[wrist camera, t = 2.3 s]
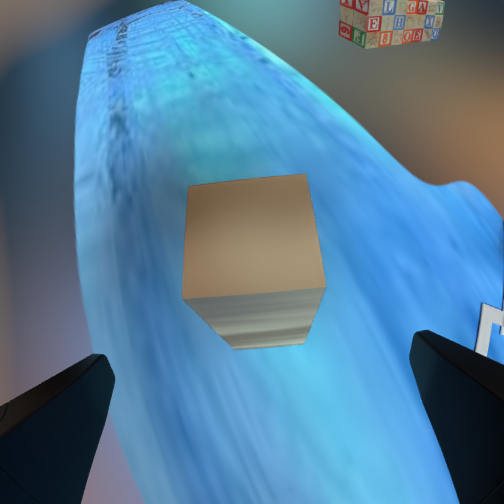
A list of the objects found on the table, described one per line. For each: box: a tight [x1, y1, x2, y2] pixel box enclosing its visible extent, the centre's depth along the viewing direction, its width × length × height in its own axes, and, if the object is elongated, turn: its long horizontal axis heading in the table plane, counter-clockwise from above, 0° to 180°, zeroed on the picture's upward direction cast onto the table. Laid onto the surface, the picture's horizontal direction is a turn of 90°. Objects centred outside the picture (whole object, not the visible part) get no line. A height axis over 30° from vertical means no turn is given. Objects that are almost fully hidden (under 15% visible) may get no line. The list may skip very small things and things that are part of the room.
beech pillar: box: [182, 174, 326, 350], centre depth 15 cm, size 4×4×11 cm
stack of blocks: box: [339, 0, 445, 49], centre depth 33 cm, size 21×6×12 cm, turn 119°
